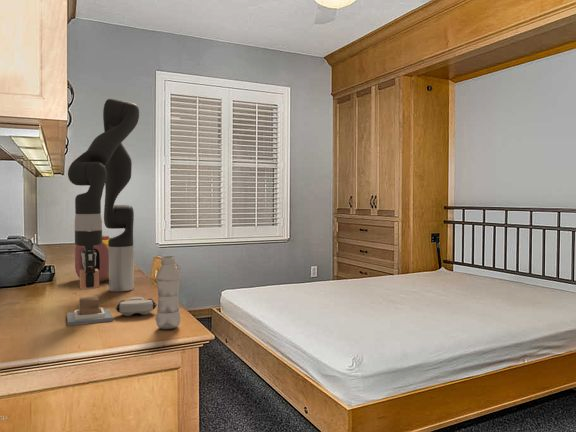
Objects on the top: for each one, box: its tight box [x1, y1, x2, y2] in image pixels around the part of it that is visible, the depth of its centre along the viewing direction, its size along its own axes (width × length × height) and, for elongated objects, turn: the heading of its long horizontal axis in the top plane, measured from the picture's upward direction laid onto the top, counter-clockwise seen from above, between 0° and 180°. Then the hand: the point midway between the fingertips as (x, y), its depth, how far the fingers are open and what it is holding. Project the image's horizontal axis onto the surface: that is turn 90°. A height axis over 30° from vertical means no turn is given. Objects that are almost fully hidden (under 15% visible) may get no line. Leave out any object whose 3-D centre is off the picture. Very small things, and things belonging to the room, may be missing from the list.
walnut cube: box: [79, 295, 100, 315], centre depth 139 cm, size 5×5×5 cm
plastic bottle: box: [155, 255, 182, 330], centre depth 129 cm, size 6×7×20 cm
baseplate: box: [66, 307, 114, 327], centre depth 139 cm, size 12×12×2 cm
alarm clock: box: [74, 234, 111, 283], centre depth 203 cm, size 18×11×19 cm, turn 67°
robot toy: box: [114, 296, 158, 317], centre depth 147 cm, size 12×4×15 cm
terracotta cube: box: [79, 269, 100, 290], centre depth 139 cm, size 5×5×5 cm
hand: (89, 285), depth 139 cm, fingers closed on terracotta cube, 5 cm apart
